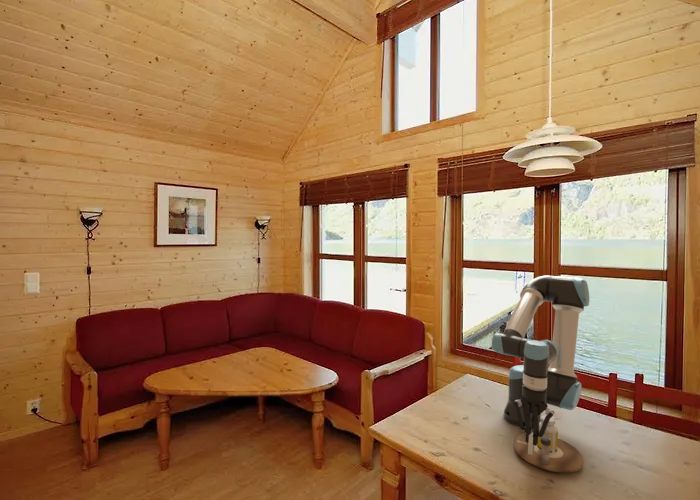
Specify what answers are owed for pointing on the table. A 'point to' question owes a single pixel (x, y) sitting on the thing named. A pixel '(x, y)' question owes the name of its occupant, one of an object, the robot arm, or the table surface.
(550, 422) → the pill bottle
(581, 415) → the table surface
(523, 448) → the disc
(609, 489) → the table surface
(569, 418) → the table surface
